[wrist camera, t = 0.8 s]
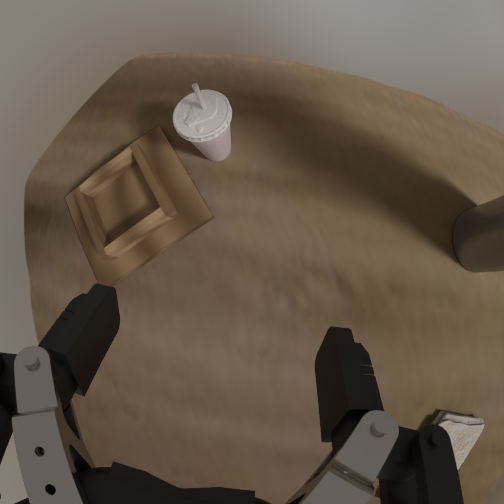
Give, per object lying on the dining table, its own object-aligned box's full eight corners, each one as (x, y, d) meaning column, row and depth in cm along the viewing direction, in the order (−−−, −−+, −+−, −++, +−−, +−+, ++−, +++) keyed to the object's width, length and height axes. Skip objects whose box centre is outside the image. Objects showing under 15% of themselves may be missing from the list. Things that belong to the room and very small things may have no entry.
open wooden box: (161, 128, 39) (151, 114, 35) (214, 217, 37) (207, 210, 33) (69, 198, 39) (53, 192, 35) (107, 290, 37) (90, 290, 33)
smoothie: (251, 146, 37) (239, 84, 24) (216, 180, 37) (186, 129, 23) (218, 120, 38) (194, 56, 24) (184, 152, 38) (145, 97, 24)
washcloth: (481, 414, 31) (491, 420, 28) (429, 496, 30) (436, 505, 27) (434, 407, 33) (444, 414, 29) (379, 496, 32) (384, 506, 28)
